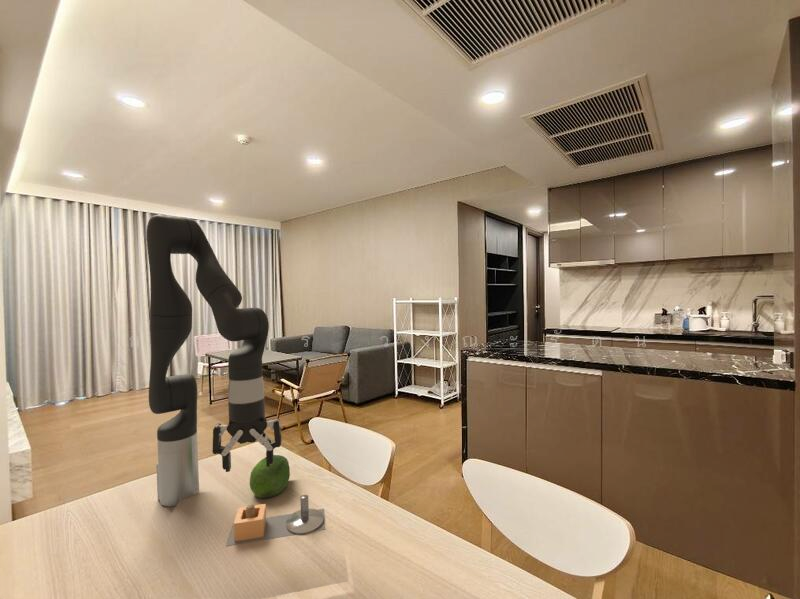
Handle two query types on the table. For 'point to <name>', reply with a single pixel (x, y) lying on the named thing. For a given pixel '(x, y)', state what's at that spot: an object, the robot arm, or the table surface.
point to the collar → (250, 523)
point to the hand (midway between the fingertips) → (248, 467)
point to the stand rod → (250, 511)
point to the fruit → (270, 477)
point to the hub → (304, 519)
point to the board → (271, 529)
